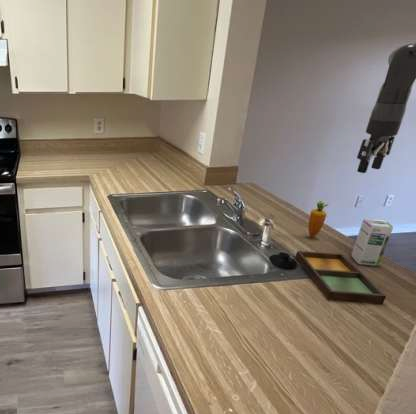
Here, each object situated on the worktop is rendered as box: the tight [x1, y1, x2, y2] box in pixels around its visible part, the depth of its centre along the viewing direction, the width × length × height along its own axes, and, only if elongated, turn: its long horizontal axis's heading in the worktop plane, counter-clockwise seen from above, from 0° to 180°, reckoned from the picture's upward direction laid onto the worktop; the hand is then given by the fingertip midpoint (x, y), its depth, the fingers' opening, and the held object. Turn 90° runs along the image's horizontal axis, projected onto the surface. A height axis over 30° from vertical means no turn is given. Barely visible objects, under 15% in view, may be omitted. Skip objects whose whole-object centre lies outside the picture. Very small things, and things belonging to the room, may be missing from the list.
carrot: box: [308, 200, 329, 239], centre depth 122 cm, size 5×5×15 cm
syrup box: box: [350, 217, 394, 267], centre depth 108 cm, size 6×6×14 cm
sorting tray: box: [295, 250, 387, 305], centre depth 101 cm, size 14×22×3 cm, turn 172°
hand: (368, 170), depth 105 cm, fingers open, 8 cm apart
